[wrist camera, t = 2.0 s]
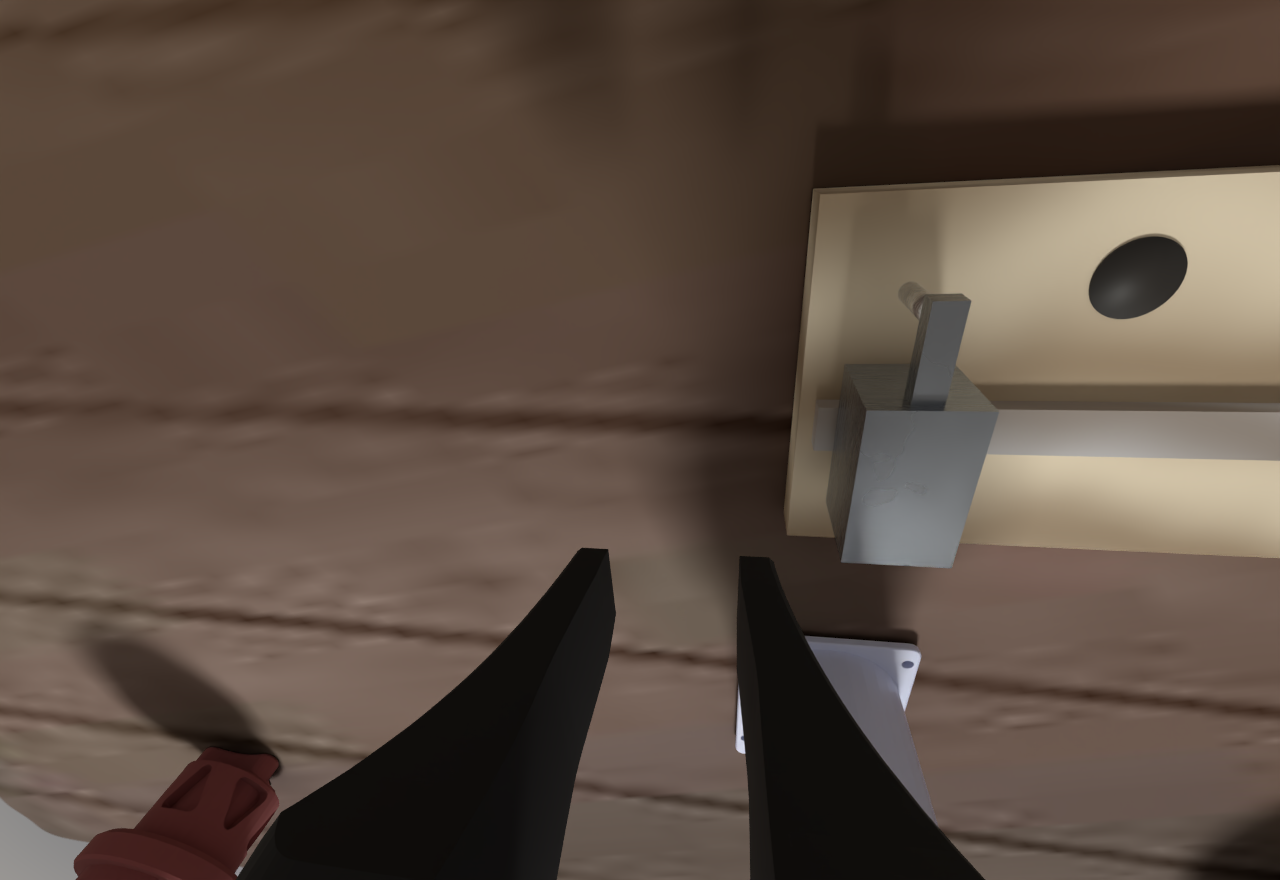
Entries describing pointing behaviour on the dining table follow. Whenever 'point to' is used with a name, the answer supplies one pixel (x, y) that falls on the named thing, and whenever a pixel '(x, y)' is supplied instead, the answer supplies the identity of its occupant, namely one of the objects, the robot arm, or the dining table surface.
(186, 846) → the mechanical component
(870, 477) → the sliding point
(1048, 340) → the hole board
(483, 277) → the dining table surface
